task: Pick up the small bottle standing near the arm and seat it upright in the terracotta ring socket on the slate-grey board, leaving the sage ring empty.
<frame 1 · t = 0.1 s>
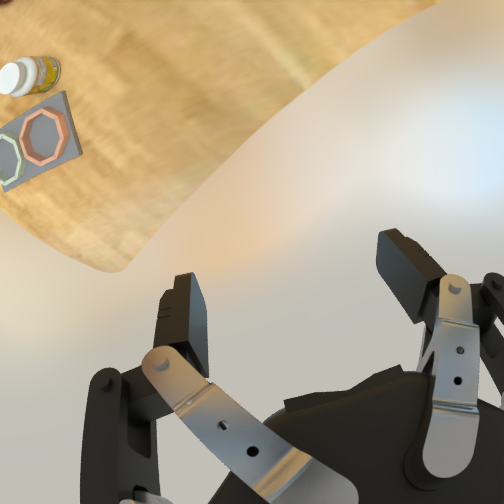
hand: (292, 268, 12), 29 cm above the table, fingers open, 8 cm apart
supplement bottle: (47, 74, 26), on the table
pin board: (31, 143, 31), on the table
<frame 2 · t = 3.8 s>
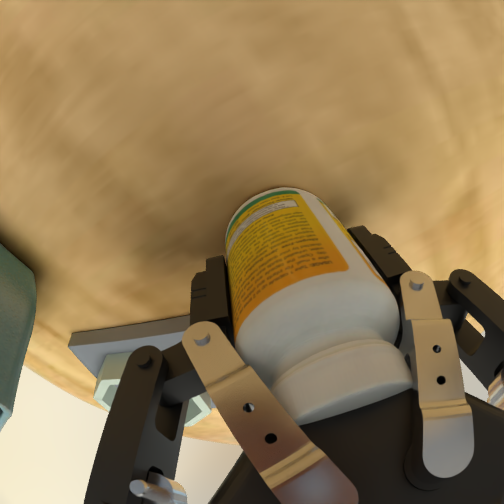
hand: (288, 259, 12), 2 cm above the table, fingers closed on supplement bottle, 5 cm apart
flower pot: (0, 267, 13), on the table
supplement bottle: (278, 233, 14), on the table, touching gripper
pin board: (208, 362, 19), on the table
when the fingers open (4 cm above the table, at t = 8.0 s): supplement bottle drops 1 cm, resting on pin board.
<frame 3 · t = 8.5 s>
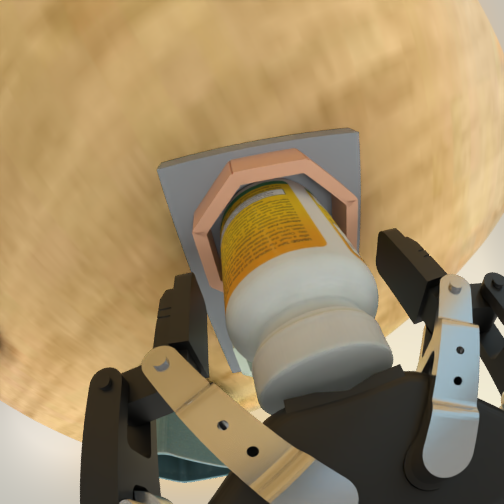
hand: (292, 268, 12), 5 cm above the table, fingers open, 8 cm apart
flower pot: (175, 384, 25), on the table
supplement bottle: (269, 222, 15), point 1 cm above the table, touching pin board
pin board: (278, 272, 18), on the table
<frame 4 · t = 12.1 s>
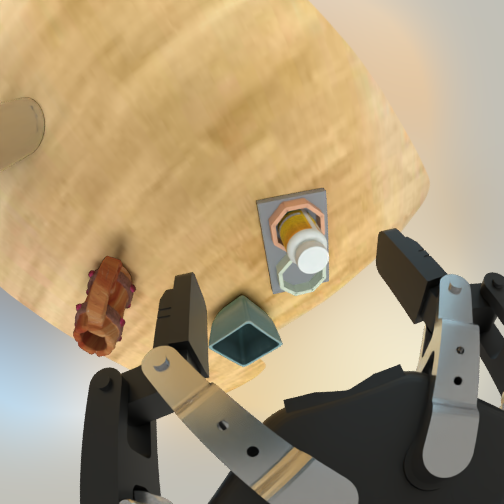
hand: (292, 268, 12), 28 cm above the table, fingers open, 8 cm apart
flower pot: (240, 307, 52), on the table
supplement bottle: (293, 222, 42), point 1 cm above the table, touching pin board
mug: (117, 265, 43), on the table
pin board: (295, 243, 45), on the table
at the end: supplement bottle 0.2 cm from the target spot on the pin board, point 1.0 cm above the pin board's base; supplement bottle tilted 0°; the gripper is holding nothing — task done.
